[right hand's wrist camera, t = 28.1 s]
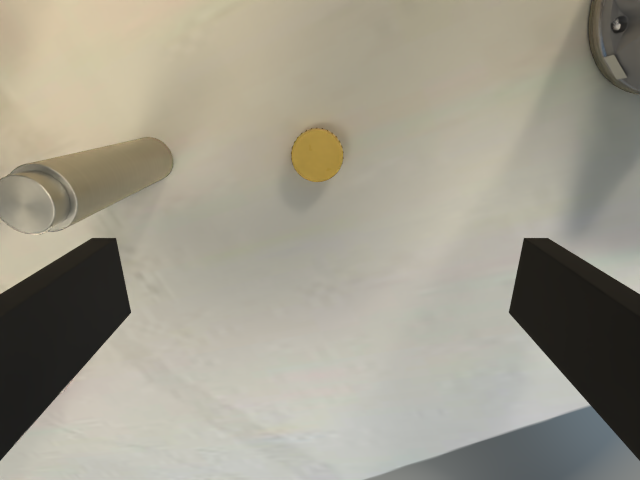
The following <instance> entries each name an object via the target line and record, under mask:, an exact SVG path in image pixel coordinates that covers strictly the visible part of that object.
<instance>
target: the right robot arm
mask: <svg viewBox="0 0 640 480" xmlns="http://www.w3.org/2000/svg"><path fill="white" fill-rule="evenodd" d="M589 42H590V48H591V52H592V55H593V58H594V60H595V62H596V65H597V66H598V68H599V70H600V71H601V72H602V74H603V75H604V76H605V77H606V78H607V79H608V80H609V81H610V82H611V83H612V84H614V85H615V86H617V87H618V88H620V89H622V90H625V91H627V92H630V93H634V94H640V0H593V1H592V5H591V10H590V15H589ZM130 313H131V310H130V305H129V300H128V295H127V290H126V285H125V280H124V275H123V271H122V266H121V261H120V256H119V251H118V246H117V241H116V238H92V239H90V240H88V241H87V242H85V243H83V244H82V245H80V246H78V247H77V248H75V249H74V250H72V251H70V252H69V253H67V254H65V255H64V256H62V257H61V258H59V259H57V260H56V261H54V262H52V263H51V264H49V265H47V266H46V267H44V268H43V269H41V270H39V271H38V272H36V273H34V274H33V275H31V276H29V277H28V278H26V279H25V280H23V281H21V282H20V283H18V284H16V285H15V286H13V287H11V288H10V289H8V290H7V291H5V292H3V293H2V294H0V460H1V459H2V458H3V457H4V456H5V455H6V454H7V452H8V451H9V450H10V449H11V448H12V447H13V446H14V445H15V443H16V442H17V441H18V440H19V439H20V438H21V437H22V435H23V434H24V433H25V432H26V431H27V430H28V429H29V428H30V426H31V425H32V424H33V423H34V422H35V421H36V420H37V419H38V417H39V416H40V415H41V414H42V413H43V412H44V411H45V409H46V408H47V407H48V406H49V405H50V404H51V403H52V402H53V400H54V399H55V398H56V397H57V396H58V395H59V394H60V392H61V391H62V390H63V389H64V388H65V387H66V386H67V385H68V383H69V382H70V381H71V380H72V379H73V378H74V377H75V376H76V374H77V373H78V372H79V371H80V370H81V369H82V368H83V366H84V365H85V364H86V363H87V362H88V361H89V360H90V359H91V357H92V356H93V355H94V354H95V353H96V352H97V351H98V349H99V348H100V347H101V346H102V345H103V344H104V343H105V342H106V340H107V339H108V338H109V337H110V336H111V335H112V334H113V332H114V331H115V330H116V329H117V328H118V327H119V326H120V325H121V323H122V322H123V321H124V320H125V319H126V318H127V317H128V316H129V314H130ZM509 313H510V314H511V316H512V317H513V318H514V319H515V320H516V321H517V322H518V323H519V325H520V326H521V327H522V328H523V329H524V330H525V331H526V332H527V334H528V335H529V336H530V337H531V338H532V339H533V340H534V342H535V343H536V344H537V345H538V346H539V347H540V348H541V349H542V351H543V352H544V353H545V354H546V355H547V356H548V357H549V359H550V360H551V361H552V362H553V363H554V364H555V365H556V366H557V368H558V369H559V370H560V371H561V372H562V373H563V374H564V376H565V377H566V378H567V379H568V380H569V381H570V382H571V383H572V385H573V386H574V387H575V388H576V389H577V390H578V391H579V392H580V394H581V395H582V396H583V397H584V398H585V399H586V400H587V402H588V403H589V404H590V405H591V406H592V407H593V408H594V409H595V411H596V412H597V413H598V414H599V415H600V416H601V417H602V418H603V420H604V421H605V422H606V423H607V424H608V425H609V426H610V428H611V429H612V430H613V431H614V432H615V433H616V434H617V435H618V437H619V438H620V439H621V440H622V441H623V442H624V443H625V444H626V446H627V447H628V448H629V449H630V450H631V451H632V452H633V454H634V455H635V456H636V457H637V458H638V459H639V460H640V294H638V293H637V292H635V291H633V290H632V289H630V288H629V287H627V286H625V285H624V284H622V283H620V282H619V281H617V280H615V279H614V278H612V277H611V276H609V275H607V274H606V273H604V272H602V271H601V270H599V269H597V268H596V267H594V266H593V265H591V264H589V263H588V262H586V261H584V260H583V259H581V258H579V257H578V256H576V255H575V254H573V253H571V252H570V251H568V250H566V249H565V248H563V247H561V246H560V245H558V244H557V243H555V242H553V241H552V240H550V239H548V238H524V241H523V246H522V251H521V256H520V261H519V266H518V271H517V275H516V280H515V285H514V290H513V295H512V300H511V305H510V310H509Z"/></svg>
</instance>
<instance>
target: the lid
mask: <svg viewBox="0 0 640 480" xmlns="http://www.w3.org/2000/svg"><path fill="white" fill-rule="evenodd" d="M291 154H292V158H291V160H292V163H293V166H294V168H295V170H296V171H297V172H298V174H299V175H300V176H302V177H303V178H305V179H307V180H309V181H313V182H322V181H326V180H328V179H330V178H332V177H333V176H334V175H335V174H336V173H337V172H338V171H339V169H340V167H341V165H342V161H343V151H342V145H340V141H338V139H337V137H336V136H334V135H333V133H331V132H329V131H328V130H324V129H323V128H322V129H317V128H316V129H312V128H311V130H308V131H307V130H306V132H304V133H301V135H300V136H299V137H297V140H296V141H295V142H294V146H293V147H292V152H291Z"/></svg>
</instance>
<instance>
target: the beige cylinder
mask: <svg viewBox="0 0 640 480" xmlns="http://www.w3.org/2000/svg"><path fill="white" fill-rule="evenodd" d="M172 167H173V157H172V154H171V152H170V150H169V148H168V147H167V146H166V145H165V144H164V143H163V142H161V141H160V140H158V139H155V138H150V137H146V138H141V139H136V140H132V141H127V142H123V143H118V144H114V145H109V146H105V147H100V148H96V149H91V150H87V151H82V152H78V153H73V154H69V155H64V156H60V157H55V158H51V159H46V160H42V161H37V162H33V163H28V164H24V165H21V166H19V167H17V168H16V169H14V170H13V171H12V172H11V173H10V174H8V175H7V176H6V177H3V178H2V179H0V218H1V219H2V220H3V221H4V222H5V223H6V224H7V225H8V226H10V227H11V228H13V229H15V230H17V231H20V232H23V233H27V234H32V235H36V234H43V233H45V232H55V231H60V230H63V229H65V228H67V227H69V226H71V225H73V224H75V223H77V222H79V221H81V220H83V219H85V218H86V217H88V216H90V215H92V214H94V213H96V212H98V211H100V210H102V209H104V208H106V207H108V206H110V205H112V204H114V203H116V202H118V201H120V200H122V199H124V198H126V197H128V196H130V195H132V194H134V193H136V192H138V191H140V190H142V189H144V188H145V187H147V186H149V185H151V184H153V183H155V182H157V181H159V180H161V179H163V178H165V177H166V176H168V175H169V173H170V172H171V170H172Z"/></svg>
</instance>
